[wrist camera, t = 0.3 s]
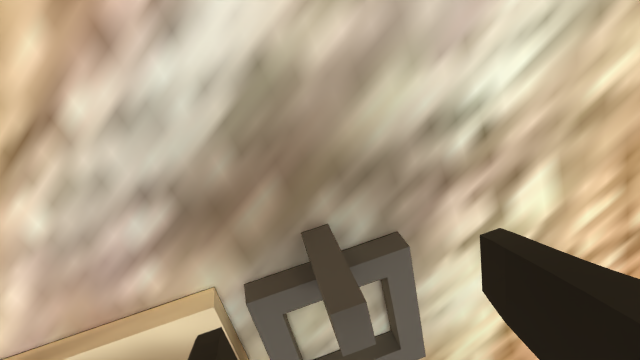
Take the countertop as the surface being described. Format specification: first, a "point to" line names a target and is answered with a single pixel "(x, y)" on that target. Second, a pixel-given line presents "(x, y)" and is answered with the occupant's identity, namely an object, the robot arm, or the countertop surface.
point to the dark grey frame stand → (342, 299)
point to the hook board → (146, 334)
